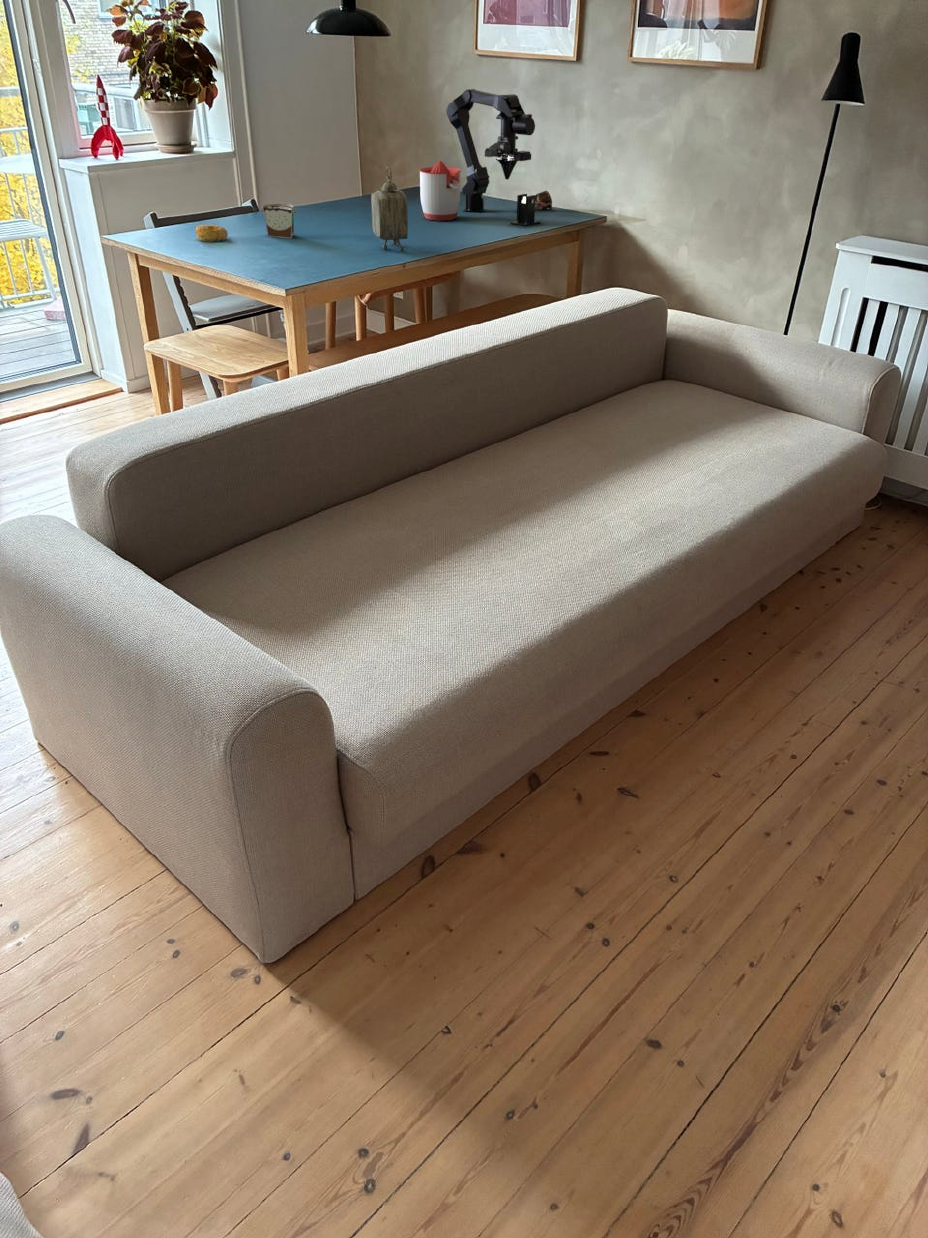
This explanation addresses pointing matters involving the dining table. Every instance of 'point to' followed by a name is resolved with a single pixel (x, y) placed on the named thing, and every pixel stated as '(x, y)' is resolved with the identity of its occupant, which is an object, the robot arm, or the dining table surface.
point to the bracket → (525, 211)
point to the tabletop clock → (390, 213)
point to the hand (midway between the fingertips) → (507, 179)
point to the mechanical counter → (544, 200)
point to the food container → (279, 220)
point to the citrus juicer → (440, 192)
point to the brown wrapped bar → (535, 202)
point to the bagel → (211, 233)
